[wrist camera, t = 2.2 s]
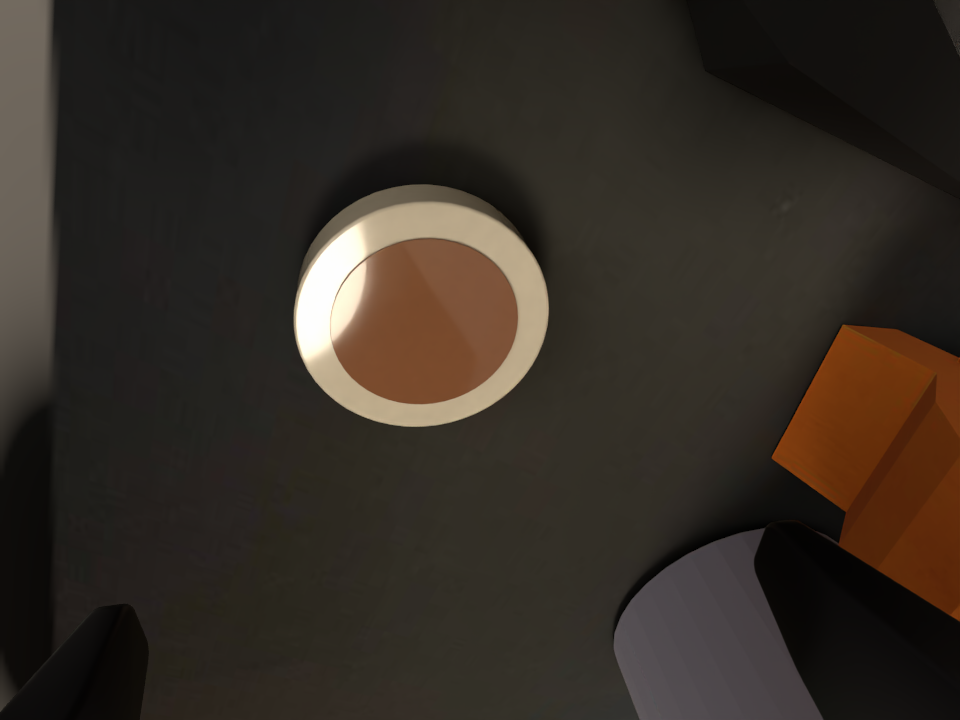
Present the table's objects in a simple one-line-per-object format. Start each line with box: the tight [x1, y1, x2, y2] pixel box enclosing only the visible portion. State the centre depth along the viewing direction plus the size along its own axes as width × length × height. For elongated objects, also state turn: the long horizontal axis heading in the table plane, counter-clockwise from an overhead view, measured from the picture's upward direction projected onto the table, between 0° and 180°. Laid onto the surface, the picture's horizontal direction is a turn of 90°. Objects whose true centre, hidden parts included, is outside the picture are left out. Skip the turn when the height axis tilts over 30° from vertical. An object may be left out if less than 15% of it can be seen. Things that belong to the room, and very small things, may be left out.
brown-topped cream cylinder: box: [294, 184, 549, 427], centre depth 16 cm, size 6×6×2 cm
